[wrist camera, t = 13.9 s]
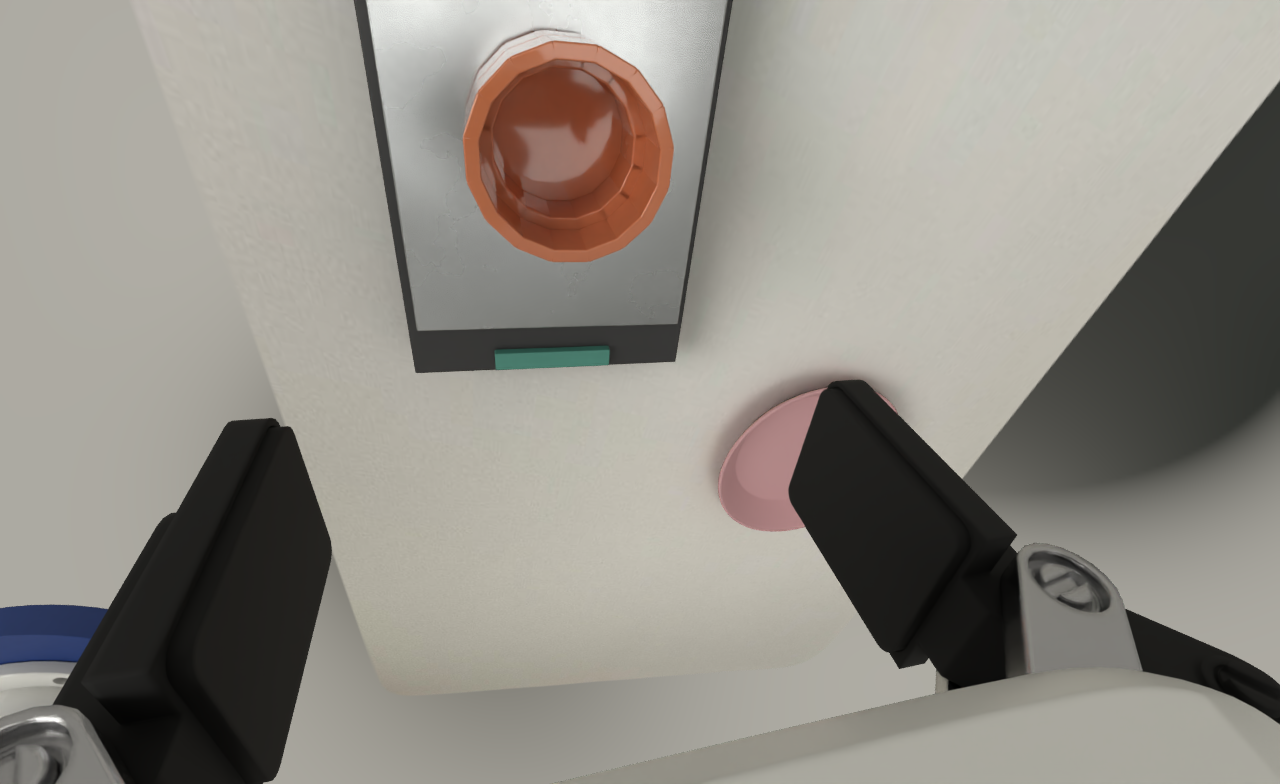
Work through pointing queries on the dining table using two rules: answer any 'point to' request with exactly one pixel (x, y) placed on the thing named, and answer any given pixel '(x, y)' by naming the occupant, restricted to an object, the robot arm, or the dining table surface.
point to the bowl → (565, 147)
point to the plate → (768, 466)
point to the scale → (453, 224)
